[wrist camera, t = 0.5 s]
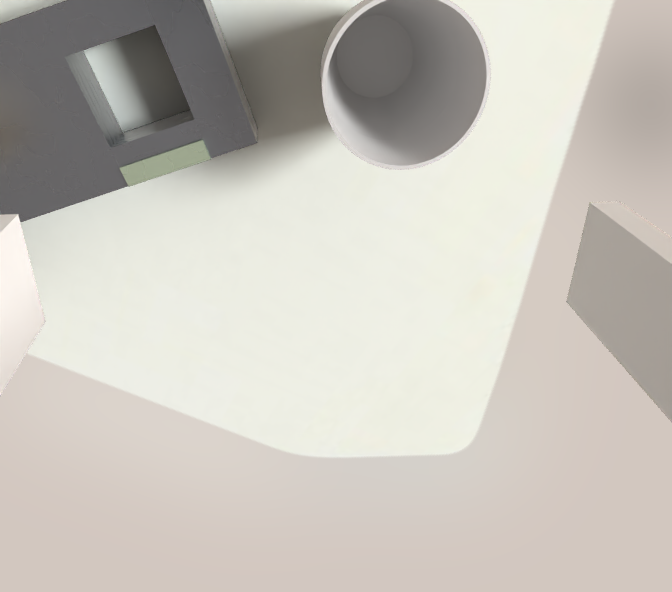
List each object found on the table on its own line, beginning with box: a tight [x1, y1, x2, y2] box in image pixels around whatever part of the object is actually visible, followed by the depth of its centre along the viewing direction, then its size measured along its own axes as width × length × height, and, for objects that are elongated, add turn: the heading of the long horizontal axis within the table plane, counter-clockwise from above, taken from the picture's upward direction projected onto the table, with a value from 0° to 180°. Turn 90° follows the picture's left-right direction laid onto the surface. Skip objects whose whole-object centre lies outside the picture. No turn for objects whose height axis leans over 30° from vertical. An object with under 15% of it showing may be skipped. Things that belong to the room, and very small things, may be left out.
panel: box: [0, 0, 258, 222], centre depth 35 cm, size 10×24×4 cm, turn 107°
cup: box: [321, 0, 491, 170], centre depth 33 cm, size 8×8×10 cm
